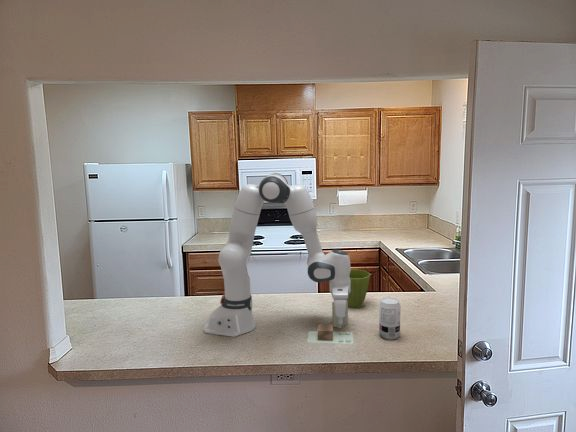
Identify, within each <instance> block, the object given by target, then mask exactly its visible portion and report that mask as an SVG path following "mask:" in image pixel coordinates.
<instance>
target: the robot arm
mask: <svg viewBox="0 0 576 432" xmlns="http://www.w3.org/2000/svg"><path fill="white" fill-rule="evenodd" d="M265 202H266V203H269V204H285V207H286V209H287V213H288V216H289V220H290V222H291V224H292V227H293V228H294V230H295V231H296V232H298V233H299V234H300V235H301V236H302V239H303V241H304V245H305V247H306V250H307V261H306V262H307V263H306V264H307V276H308V278H309V279H310V280H311V281H313V282H315V283H324V282H329V292H330V294H331V298H332V299H333V302H334V306H335V314H336V317H338V323H339V324H342V323H343V317H345V312H346V303H347V299H348V296H349V293H350V292H351V280H350V271H351V270H352V269H351V258H350V254H348V252H346V251H344V250H341V249H332V250H331V251H329V252H328V253H325V252H324V251H323V249H322V246H321V242H320V239H319V235H318V231H317V227H318V218H317V213H316V208H315V204H314V202H313V198H312V197H311V194H310V192H309V191H308V189H307V187H306V185H304V184H294V185H290V184H289V183H288V180H287V178H286V177H285V176H284V175H282V174H281V173H277V172H275V173H271V174H268V175H266V176H265V177H264V178H263V179H262V180H261V181H260V182H259V184H253V183H248V184H247V183H246V184H245V185H243V186H241V189H240V191H239V193H238V196H237V198H236V201H235V203H234V207H233V210H232V215H231V218H230V222H229V234H228V240H227V242H226V244H225V245H224V246H223V247H222V248H221V249H220V251H219V253H218V257H217V261H218V265H219V266H220V268H221V269H220V270H221V273H222V278H223V283H224V294H223V295H222V296H221V298H220V302H219V304H220V305H219V306H217V308H215V309H214V310H213V311H212V312H211V313H210V315H209V320H208V321H207V322H206V323H205V324H204V326H203V332H204V333H205V334H210V335H218V336H225V337H226V336H227V337H233V338H235V337H238V336H240V335H243V334H247V333H250V332H251V331H254V329H256V327H257V325H256V322H255V318H254V315H253V309H252V308H253V298H252V293H251V278H250V276H249V272H248V267H247V264H248V263H247V261H248V258H250V257H251V254H252V250H253V247H254V246H253V245H254V239H255V235H256V229H257V226H258V222H259V219H260V214H261V211H262V208H263V205H264V203H265Z"/></svg>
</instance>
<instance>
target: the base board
mask: <svg viewBox="0 0 576 432" xmlns="http://www.w3.org/2000/svg"><path fill="white" fill-rule="evenodd" d="M307 343H314V344H343V345H344V344H345V345H346V344H348V345H353V344H354V334H353V331H341V330H339V331H333V341H325V340H318V330H308V335H307Z"/></svg>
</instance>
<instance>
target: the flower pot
mask: <svg viewBox="0 0 576 432" xmlns="http://www.w3.org/2000/svg"><path fill="white" fill-rule="evenodd" d="M350 270H351V271H350V280H351V292H350V293H349V296H348V299H347V300H348V308H352V309H353V308H354V309H357V308H361V307H362V306H363V305H364V302H365V299H366V296H367V293H368V290H369V283H370V278H371V273H370V272H369V271H366V270H361V269H350Z"/></svg>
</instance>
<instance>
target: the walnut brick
mask: <svg viewBox="0 0 576 432" xmlns="http://www.w3.org/2000/svg"><path fill="white" fill-rule="evenodd" d="M317 331H318V340H325V341H333V332H334V326H333V325H332V324H321V323H320V324H318V325H317Z"/></svg>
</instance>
